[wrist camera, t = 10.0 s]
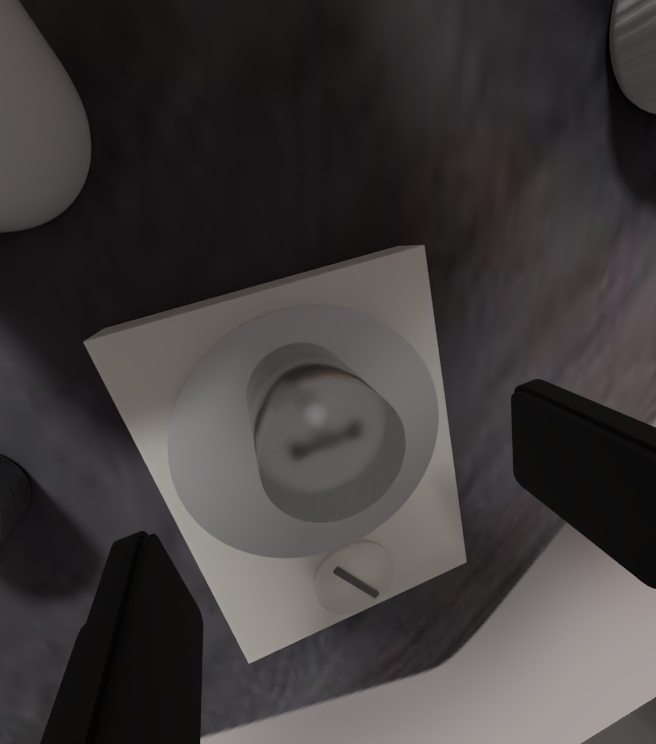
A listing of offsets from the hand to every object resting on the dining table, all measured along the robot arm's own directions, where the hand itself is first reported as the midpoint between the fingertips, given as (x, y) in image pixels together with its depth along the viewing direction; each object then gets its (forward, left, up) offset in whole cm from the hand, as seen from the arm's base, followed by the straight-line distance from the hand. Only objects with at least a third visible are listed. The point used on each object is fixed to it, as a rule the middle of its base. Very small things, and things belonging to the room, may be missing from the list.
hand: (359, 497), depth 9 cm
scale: (+7, 0, -13) cm, 14 cm away
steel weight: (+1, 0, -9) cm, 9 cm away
